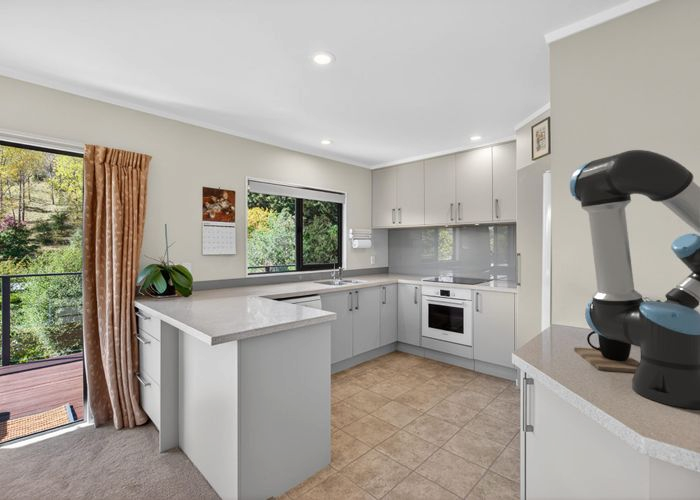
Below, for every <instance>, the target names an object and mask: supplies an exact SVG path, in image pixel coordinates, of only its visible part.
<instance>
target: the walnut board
mask: <svg viewBox="0 0 700 500" xmlns="http://www.w3.org/2000/svg"><path fill="white" fill-rule="evenodd" d="M573 351H574V352H575V353H577V354H578V355H579V356H580V357H581V358H583V360H585V361H586V362H588V363H589V364H590V365H591V366H593V367H594V368H595V369H596V370H597V371H606V372H607V371H609V372H620V373H621V372H622V373H632V374H633V373H634V374H635V372H636V370H637V368H638V365H639V363H640V361H638V360H636V359H634V358H633V357H631V356H629V358H628V359H627V360H626V361H615V360H610V359H607V358H605V357H603V355H602V353H601V352H600V351H599V350H596V349H594V348H592V347H590V348H589V347H578V346H577V347H576V346H575V347H573Z"/></svg>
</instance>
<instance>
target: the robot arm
mask: <svg viewBox="0 0 700 500" xmlns="http://www.w3.org/2000/svg"><path fill="white" fill-rule="evenodd" d="M569 190H570V193H571V196H572V197H574V199H575V200H576V201H578V202H580V205H581V209H583V210H584V211H586V212H587V213H588V221H589V229H590V235H591V236H590V238H591V244H592V245H591V246H592V252H593V254H592V255H593V262H594V270H595V278H596V286H597V287H596V288H597V290H596V291H595V292H594V293H593V294H592V300H590V301H589V302H588V303H587V306H586V307H585V311H584V312H585V313H584V315H585V320H586V323H587V325H588V326H589V328H590V329H591V330H592V332H593V331H594V332H596V333H595V334H597V335H598V334H599V335H602V336H604V337H606V338H609V339H613V340H617V341H621V342H624V343H628V344H631V346H635V347H639V348H640V360H639V365H638V368H637V370H636V372H635V373H634V374H633V377H632V379H631V388H632V390H633V391H634V392H635V393H636V394H638V395H641V396H643V397H645V398H647V399H649V400H651V401H654V402H658V403H661V404H664V405H668V406H673V407H678V408H683V409H692V410H700V312H699V311H698V310H696V308H698V307H699V305H700V185H698V184H697V183H695V181H694V174H693V173H692V172H691V171H690V170H689V169H687V167H685V166H684V165H682V164H681V163H680V162H678V161H676V160H674V159H673V158H671V157H668V156H666V155H663V154H661V153H659V152H654V151H651V150H643V149H631V150H626V151H624V152H623V151H622V152H620V153H617V154H612V155H608V156H605V157H602V158H598V159H595V160H591V161H589V162H588V163H587V162H586V163H584V164H582V165H580V166H579V167H577V169H575V171H574V172H573V174H572V175H571V176H570V181H569ZM634 194H635V195H643V196H645V197H647V198H649V200H650V201H652V202H656V203H661V204H662V205H664V206H665V207H666V208H668V210H670V211H671V212H672V213H673V214H674V215H676V216H677V217H678V218H679V219H681V220H682V221H684V223H686V224H687V225H688V226H689V227H690V228H691V229H693V230H694V231H695V232H697V233H698V234H699V235H698V234H696V233H686V234H683V235H681V236H678V237H677V238H676V239H674V240H673V242H672V243H671V245H670V249H671V251H673V253H674V254H675V255H676V257H677V258H678V259H679V260H680V261H681V262H682V263H683V264H684V265H685V266H686V267H687V268H688V269H689V270H690V271H691V273H689V275H688V276H687V277H685V278H684V279H683V280H682V281H680V282H679V283H677V284H676V285H675V287H673V288H672V289H671V290H669V291H668V292H666V294H665V295H664V296H665V299H666V300H665V301H661V300H660V299H657V300H656V301H655V300H648V301H647V300H646V301H644V300H643V295H642V294H641V293H640V292H638V291H637V290H635V286H634V285H635V284H634V275H633V267H632V258H631V251H630V249H631V248H630V241H629V234H628V233H629V231H628V225H627V223H628V222H627V214H626V207H627V206H628V205H629V204H631V202H632V197H631V195H634Z"/></svg>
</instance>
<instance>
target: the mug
mask: <svg viewBox="0 0 700 500" xmlns="http://www.w3.org/2000/svg"><path fill="white" fill-rule="evenodd" d="M593 334H597V333H596V332H594V331H593V330H592V331H591V332H589V333H588V335H587V337H586V340H587V344H588V345H589V347H590V348H594V349H596V350H599V351H600V352H601V353H602V355H603V357H605V358H607V359H610V360H615V361H626V360H627V359H628V358H629V357H630V356H631V355H630V354H631V351H632V350H631V349H632V344H628V343H624V342H621V341H617V340H613V339H609V338H606V337H604V336H602V335H599V334H597V335H598V336H597V338H598V344H599V347H597V346H595V345H593V344H592V343H591V341H590V339H591V336H592V335H593Z"/></svg>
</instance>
